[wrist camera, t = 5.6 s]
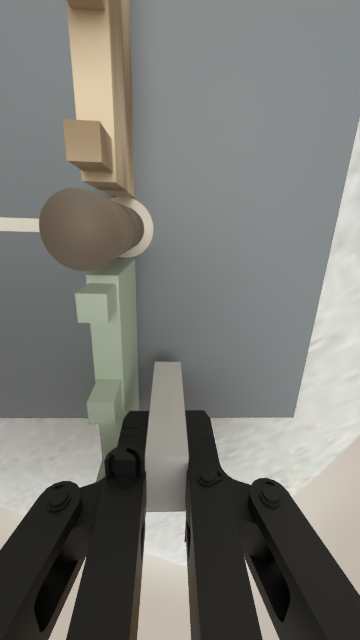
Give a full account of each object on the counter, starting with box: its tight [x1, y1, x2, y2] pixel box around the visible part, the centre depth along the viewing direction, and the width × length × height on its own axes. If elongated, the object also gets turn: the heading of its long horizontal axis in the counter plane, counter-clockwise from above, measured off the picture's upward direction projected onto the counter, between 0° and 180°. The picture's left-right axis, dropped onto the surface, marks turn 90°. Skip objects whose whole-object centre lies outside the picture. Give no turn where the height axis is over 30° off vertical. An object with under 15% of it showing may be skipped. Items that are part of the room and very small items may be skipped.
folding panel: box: [75, 258, 139, 482], centre depth 13 cm, size 10×1×7 cm, turn 178°
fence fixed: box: [39, 0, 144, 271], centre depth 9 cm, size 13×2×8 cm, turn 178°
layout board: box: [0, 0, 360, 418], centre depth 15 cm, size 24×26×1 cm
